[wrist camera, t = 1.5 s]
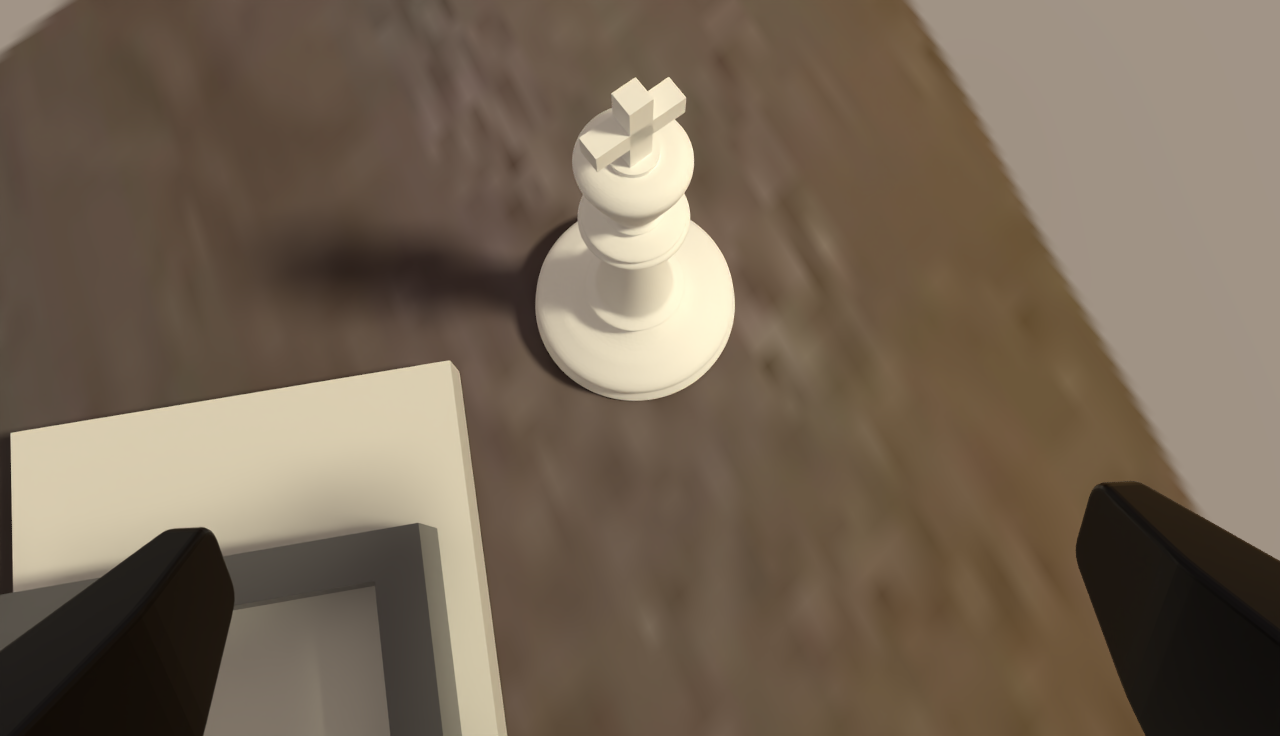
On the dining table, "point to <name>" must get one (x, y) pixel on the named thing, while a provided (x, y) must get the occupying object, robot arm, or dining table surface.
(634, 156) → the chess piece
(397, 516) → the board
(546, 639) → the dining table surface
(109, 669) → the robot arm
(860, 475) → the dining table surface
